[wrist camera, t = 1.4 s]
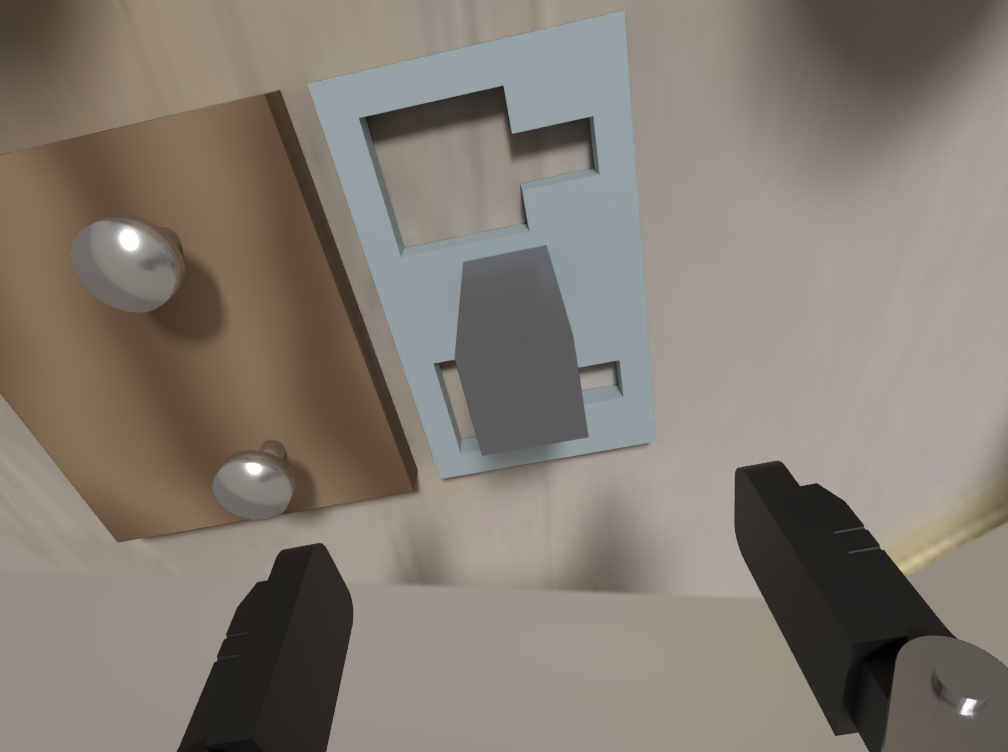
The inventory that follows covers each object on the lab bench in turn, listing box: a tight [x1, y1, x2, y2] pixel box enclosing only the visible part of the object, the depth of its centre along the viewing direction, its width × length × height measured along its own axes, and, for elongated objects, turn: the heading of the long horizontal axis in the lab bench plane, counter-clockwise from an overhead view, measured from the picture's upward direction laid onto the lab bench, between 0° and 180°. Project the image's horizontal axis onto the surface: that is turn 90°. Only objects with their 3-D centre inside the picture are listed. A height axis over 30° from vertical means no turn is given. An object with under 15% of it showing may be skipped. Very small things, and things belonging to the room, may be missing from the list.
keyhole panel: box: [308, 11, 656, 479], centre depth 18 cm, size 10×16×8 cm, turn 11°
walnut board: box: [0, 90, 417, 542], centre depth 21 cm, size 14×16×4 cm
